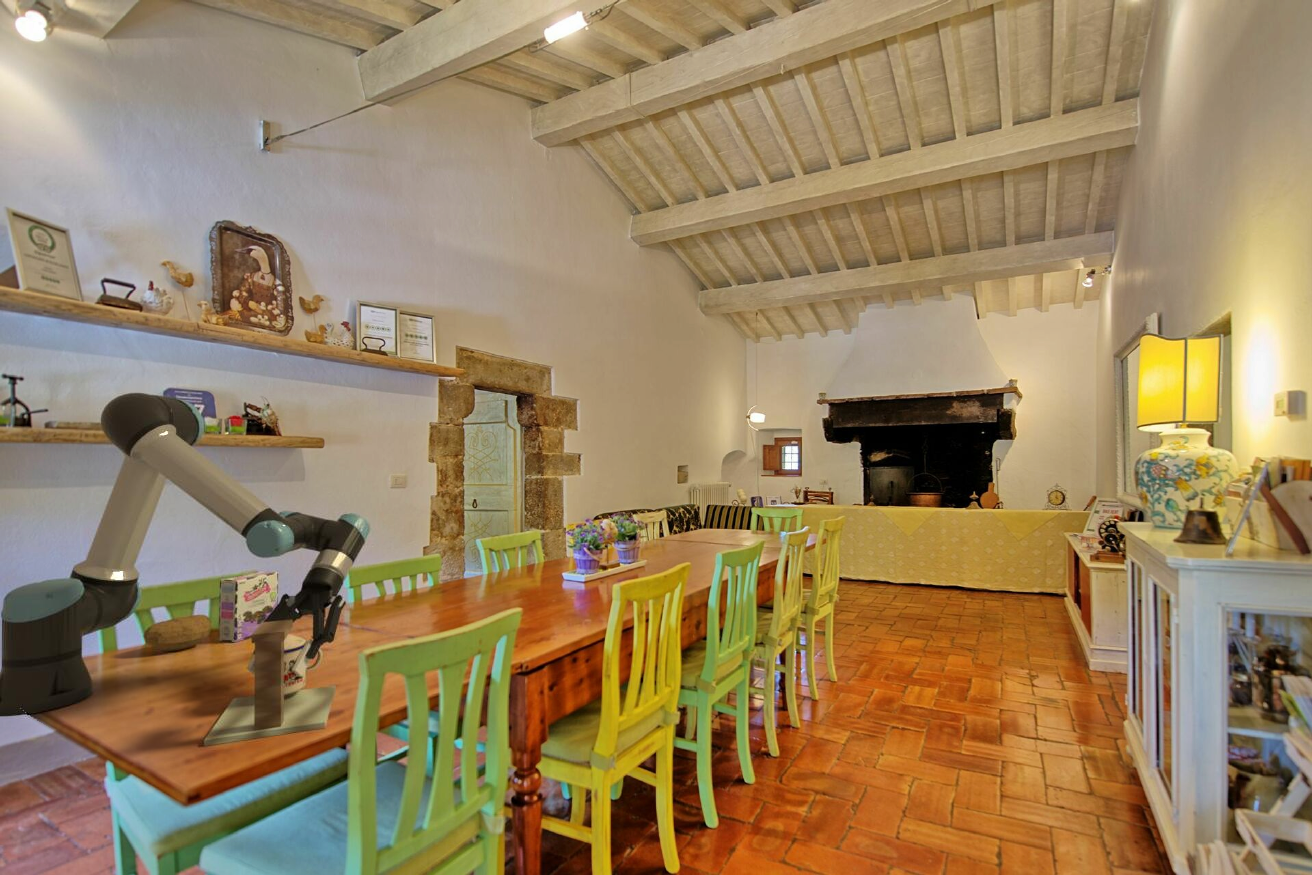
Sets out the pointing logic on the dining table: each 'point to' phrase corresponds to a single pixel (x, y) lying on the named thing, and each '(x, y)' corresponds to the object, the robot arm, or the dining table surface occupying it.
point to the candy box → (246, 604)
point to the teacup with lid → (291, 654)
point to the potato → (178, 633)
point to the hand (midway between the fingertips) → (274, 672)
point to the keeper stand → (272, 696)
